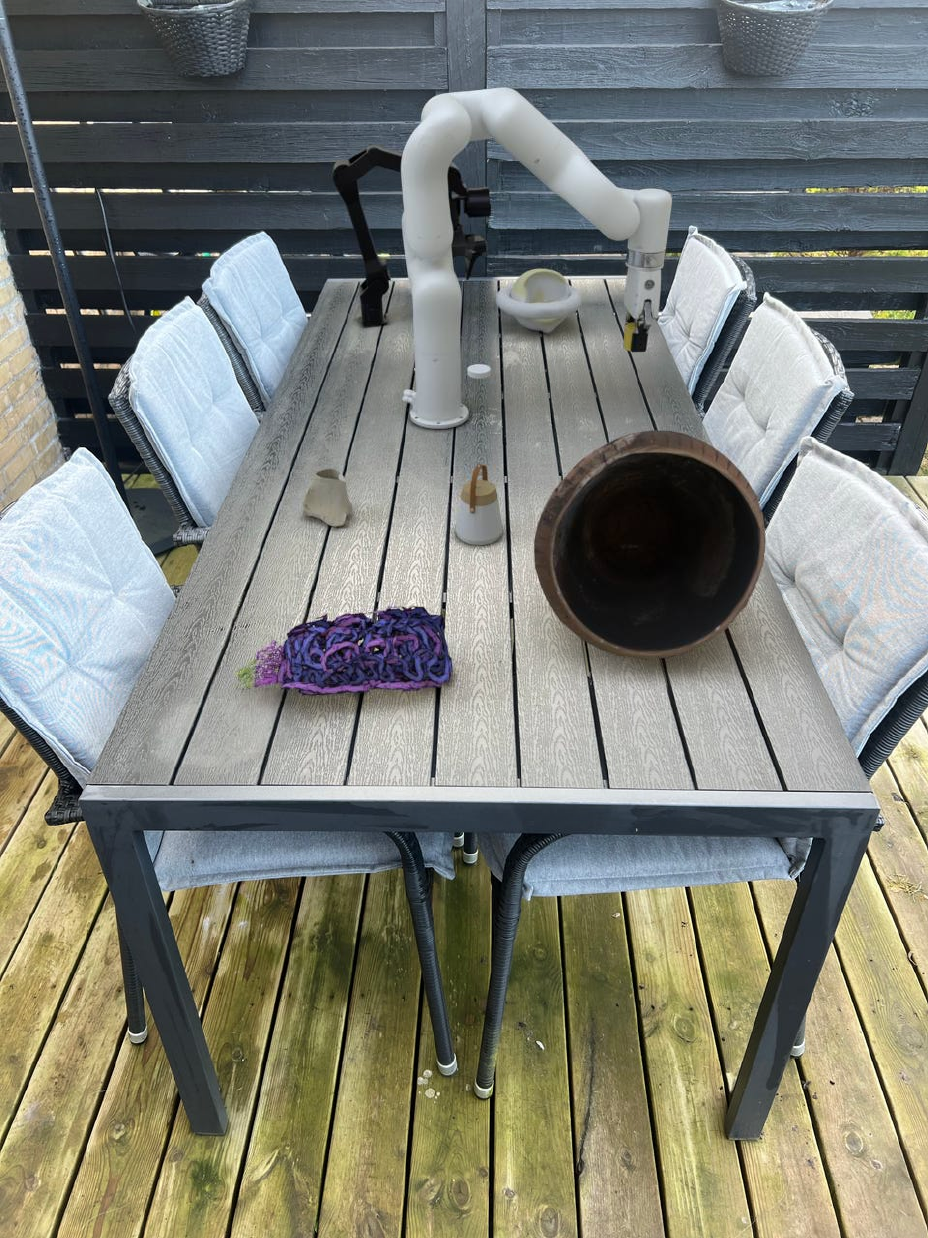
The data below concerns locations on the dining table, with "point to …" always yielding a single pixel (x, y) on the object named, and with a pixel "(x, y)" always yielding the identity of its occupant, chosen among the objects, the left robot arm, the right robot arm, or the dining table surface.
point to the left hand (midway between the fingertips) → (450, 281)
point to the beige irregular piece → (327, 498)
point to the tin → (628, 335)
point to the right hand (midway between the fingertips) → (634, 345)
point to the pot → (650, 545)
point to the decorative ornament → (358, 654)
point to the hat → (539, 299)
